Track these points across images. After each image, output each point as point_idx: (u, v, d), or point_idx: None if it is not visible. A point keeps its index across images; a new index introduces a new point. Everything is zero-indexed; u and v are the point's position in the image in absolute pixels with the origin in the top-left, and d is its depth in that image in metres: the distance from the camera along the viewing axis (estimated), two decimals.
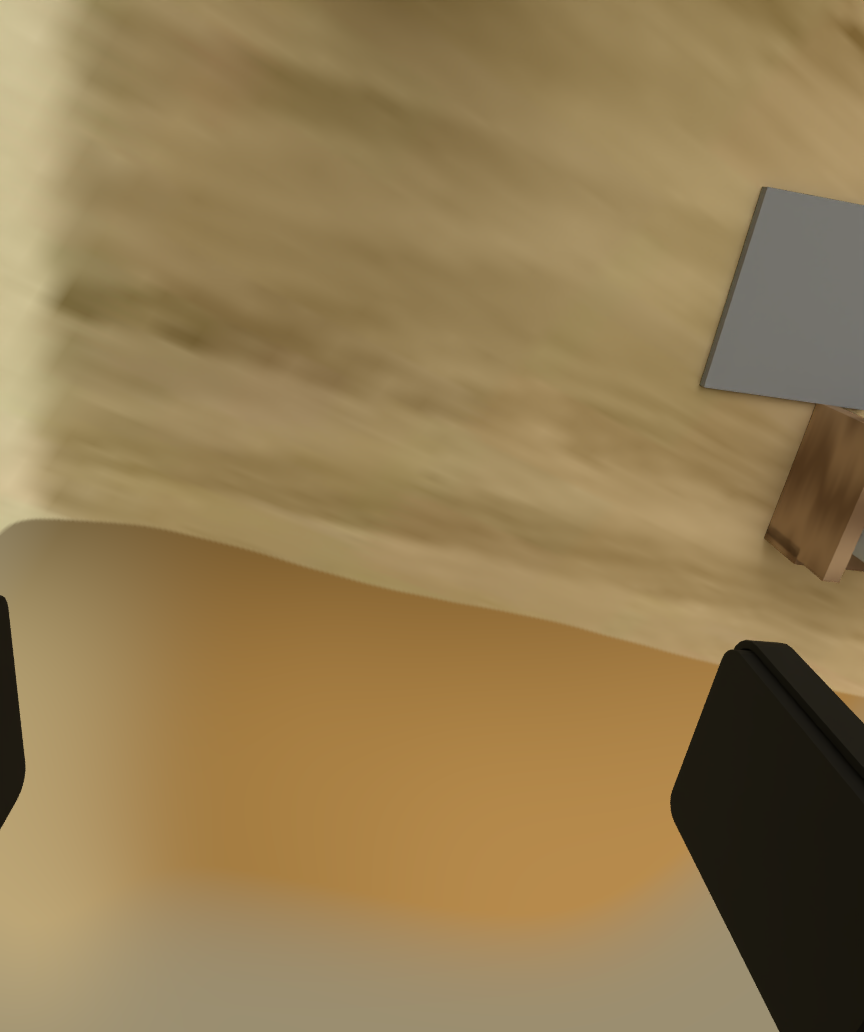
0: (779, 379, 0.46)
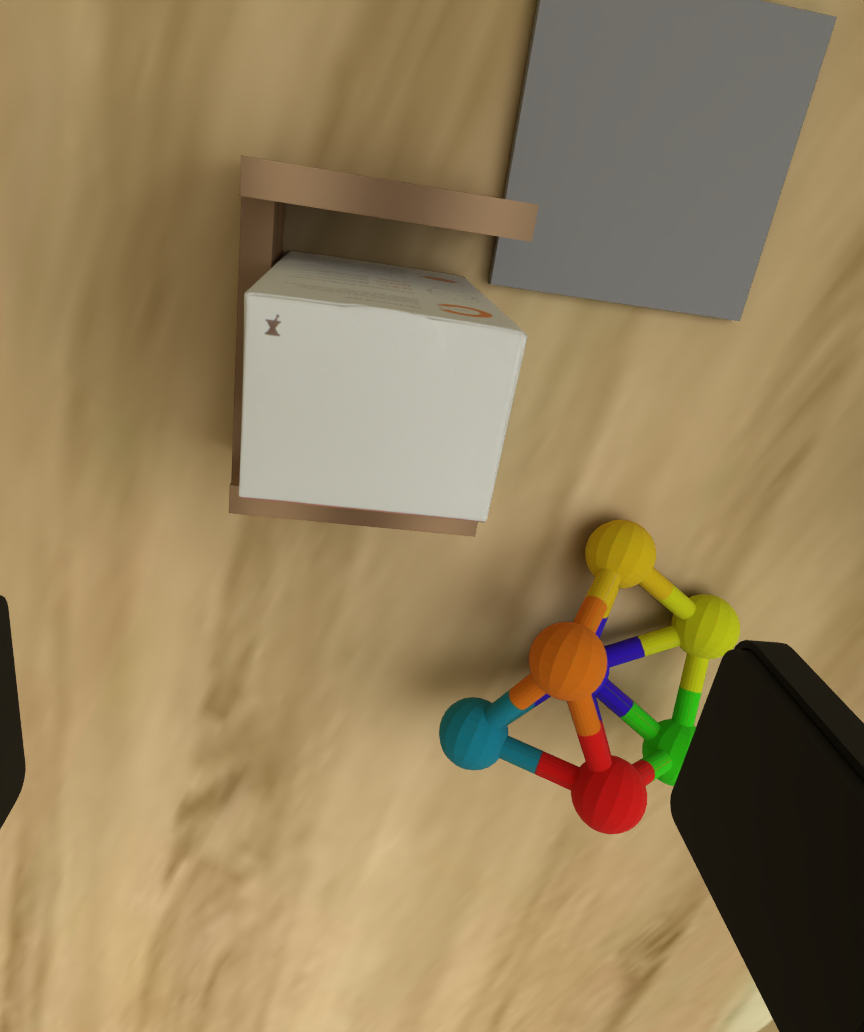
0: (550, 110, 0.29)
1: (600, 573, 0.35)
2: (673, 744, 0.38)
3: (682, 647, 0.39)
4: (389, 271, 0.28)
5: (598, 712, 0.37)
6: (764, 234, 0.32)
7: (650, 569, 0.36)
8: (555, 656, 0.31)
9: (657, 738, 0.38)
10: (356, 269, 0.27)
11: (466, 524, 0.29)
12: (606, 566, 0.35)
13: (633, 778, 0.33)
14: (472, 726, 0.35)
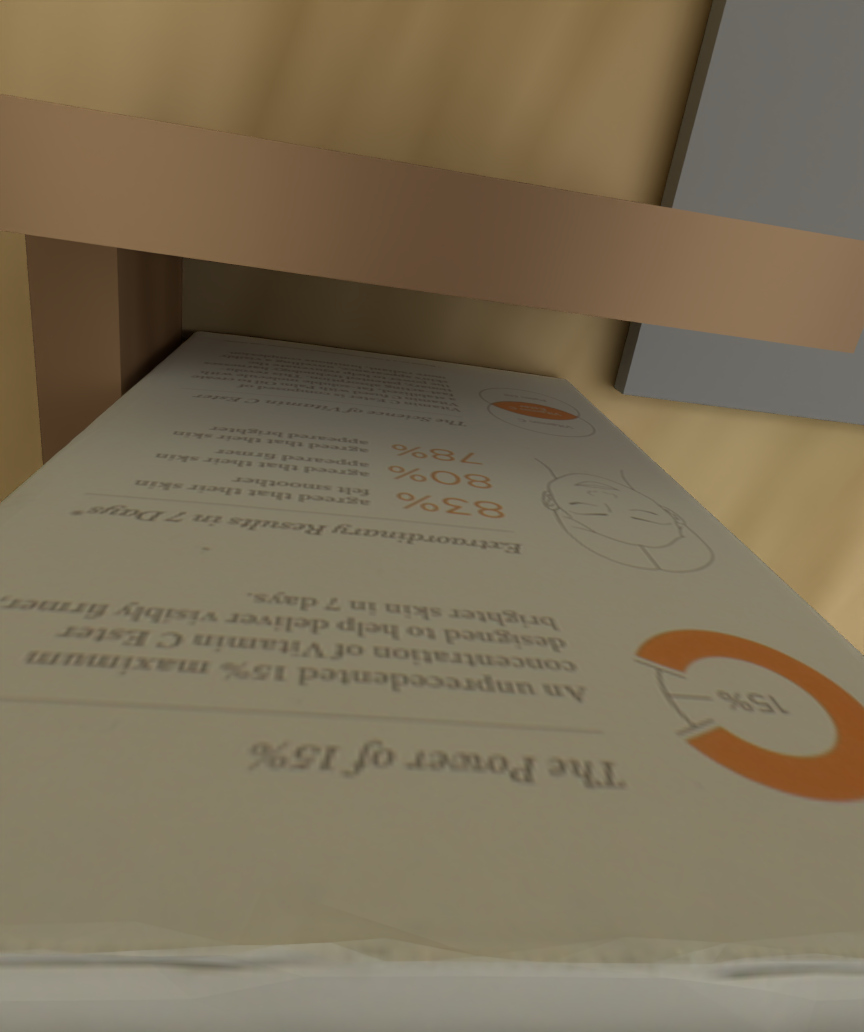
0: (789, 12, 0.12)
1: None
2: None
3: None
4: (417, 395, 0.12)
5: None
6: None
7: None
8: None
9: None
10: (337, 401, 0.11)
11: None
12: None
13: None
14: None
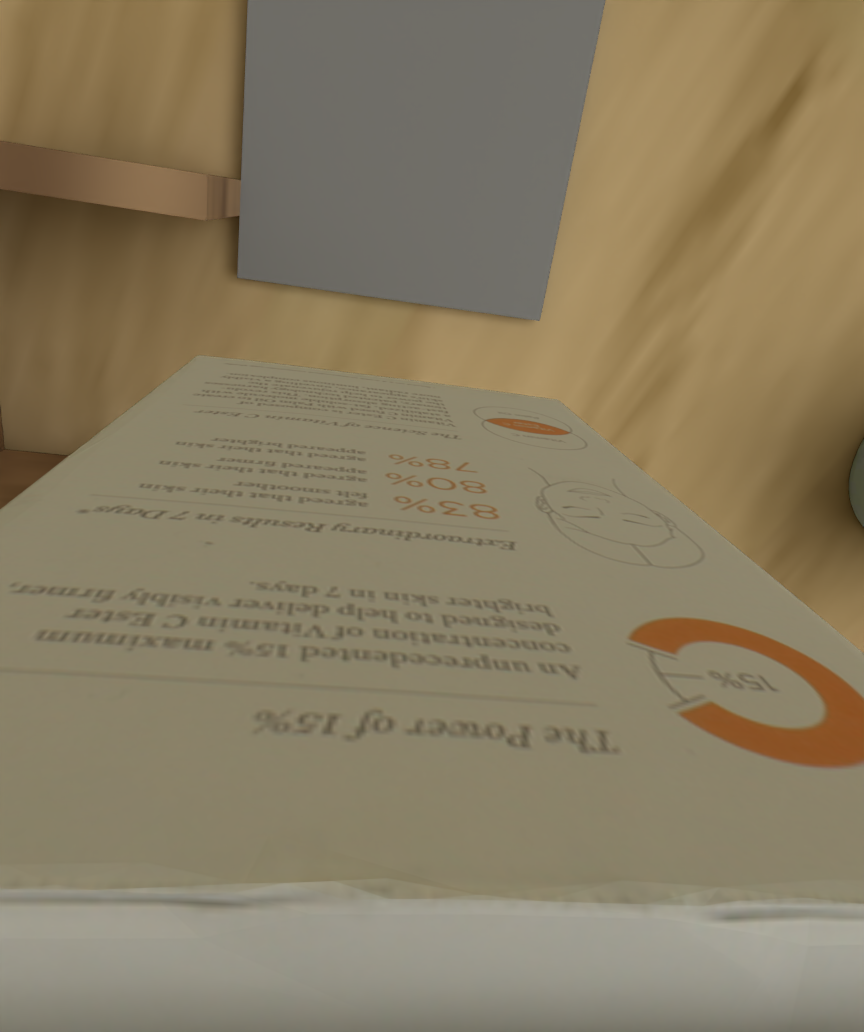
0: (280, 71, 0.24)
1: None
2: None
3: None
4: (413, 412, 0.12)
5: None
6: (556, 220, 0.27)
7: None
8: None
9: None
10: (334, 416, 0.11)
11: None
12: None
13: None
14: None
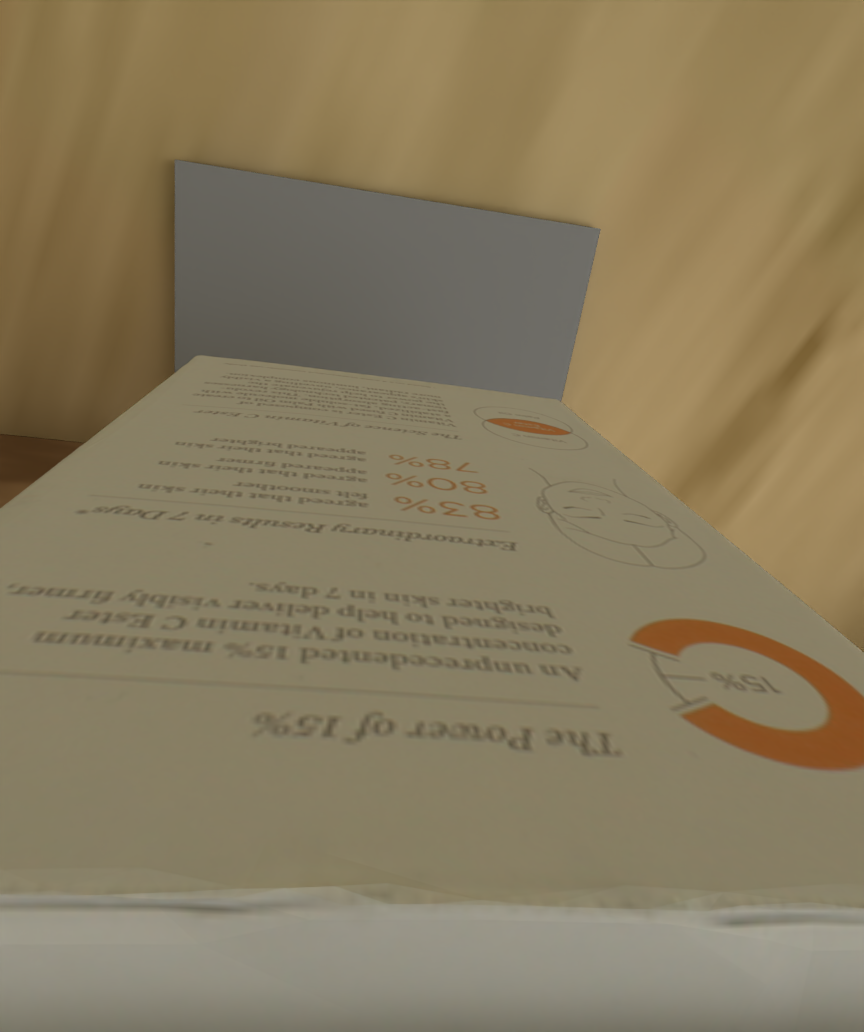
0: (215, 350, 0.21)
1: None
2: None
3: None
4: (413, 412, 0.12)
5: None
6: None
7: None
8: None
9: None
10: (335, 416, 0.11)
11: None
12: None
13: None
14: None
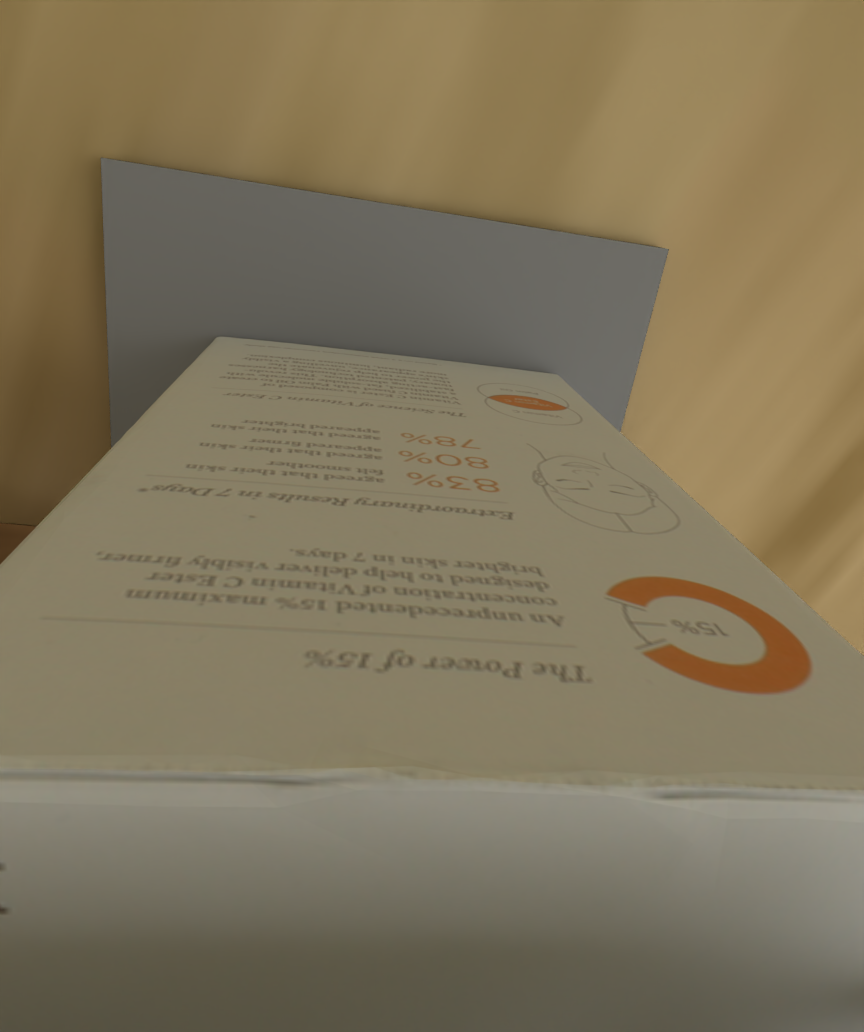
0: None
1: None
2: None
3: None
4: (421, 390, 0.13)
5: None
6: None
7: None
8: None
9: None
10: (350, 396, 0.12)
11: None
12: None
13: None
14: None
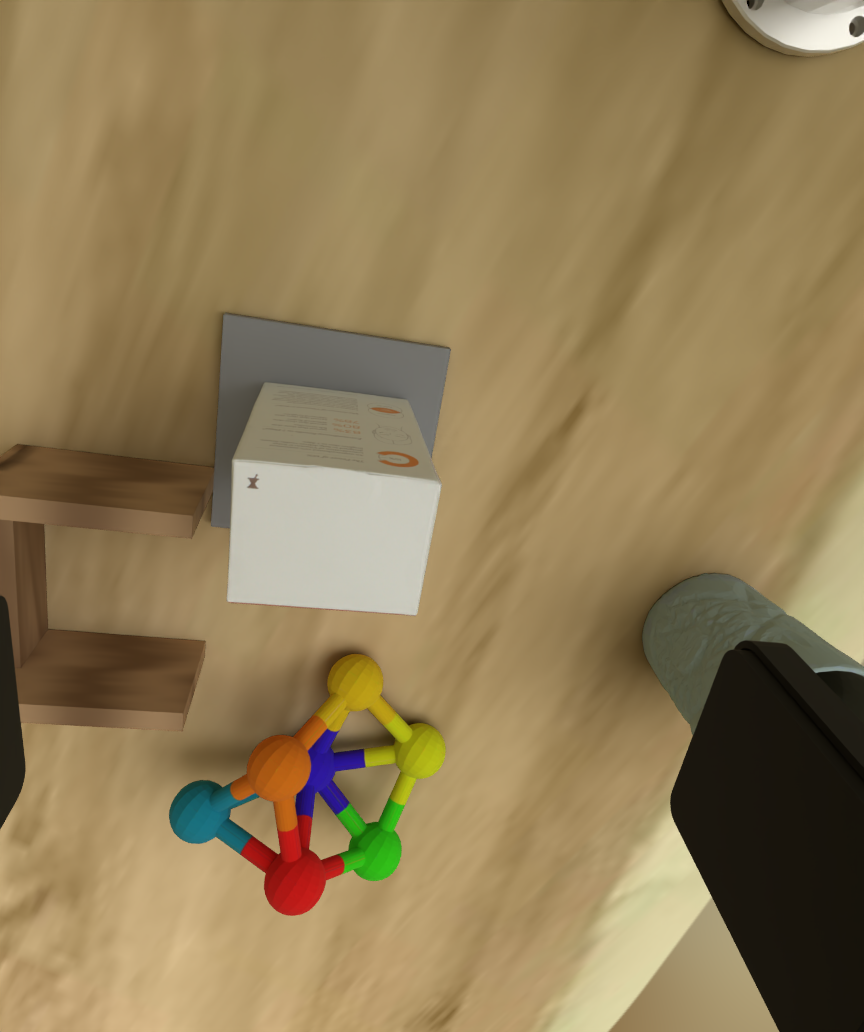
0: (240, 411, 0.38)
1: (331, 697, 0.43)
2: (370, 845, 0.46)
3: (397, 765, 0.47)
4: (345, 405, 0.35)
5: (311, 809, 0.44)
6: None
7: (373, 700, 0.44)
8: (264, 764, 0.39)
9: (360, 837, 0.46)
10: (318, 407, 0.34)
11: (174, 723, 0.38)
12: (337, 692, 0.43)
13: (314, 871, 0.41)
14: (196, 806, 0.41)
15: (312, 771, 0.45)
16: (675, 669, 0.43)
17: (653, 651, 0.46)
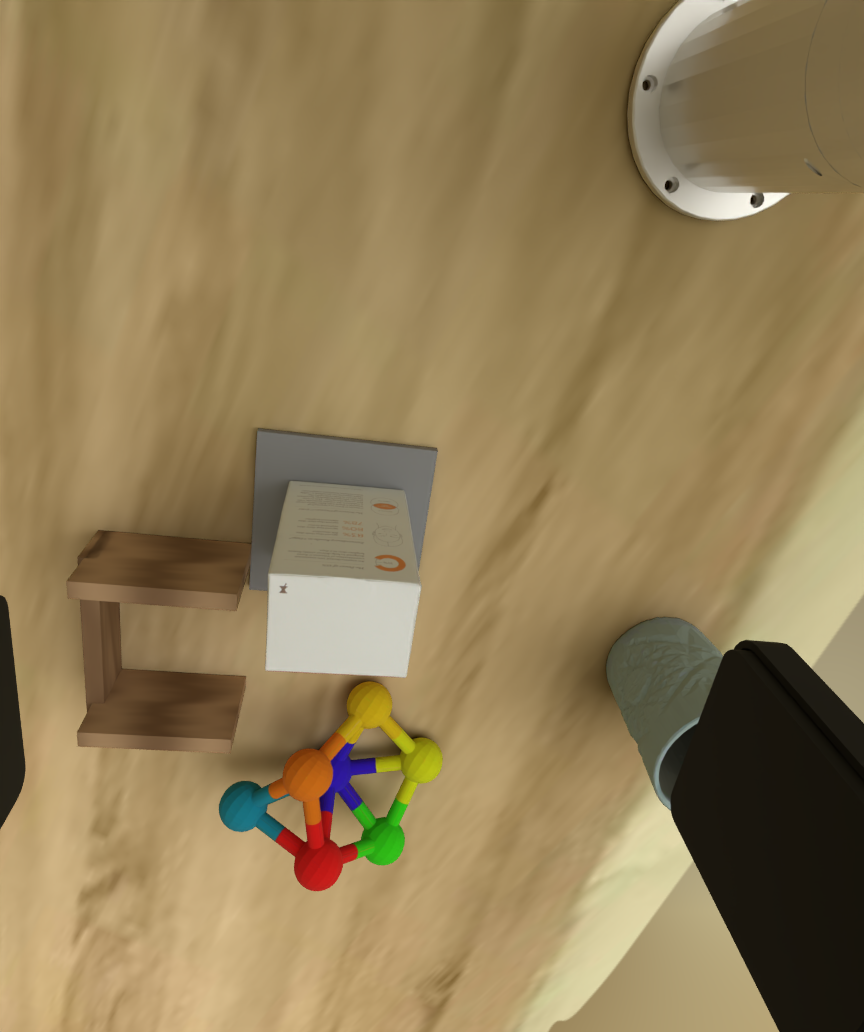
0: (271, 502, 0.48)
1: (350, 717, 0.54)
2: (378, 836, 0.56)
3: (402, 771, 0.57)
4: (352, 503, 0.45)
5: (331, 806, 0.55)
6: (418, 557, 0.51)
7: (383, 720, 0.54)
8: (296, 772, 0.49)
9: (371, 830, 0.57)
10: (331, 508, 0.44)
11: (224, 747, 0.49)
12: (354, 713, 0.54)
13: (333, 857, 0.51)
14: (240, 802, 0.52)
15: (333, 775, 0.56)
16: (627, 700, 0.53)
17: (613, 683, 0.56)
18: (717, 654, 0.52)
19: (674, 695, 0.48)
